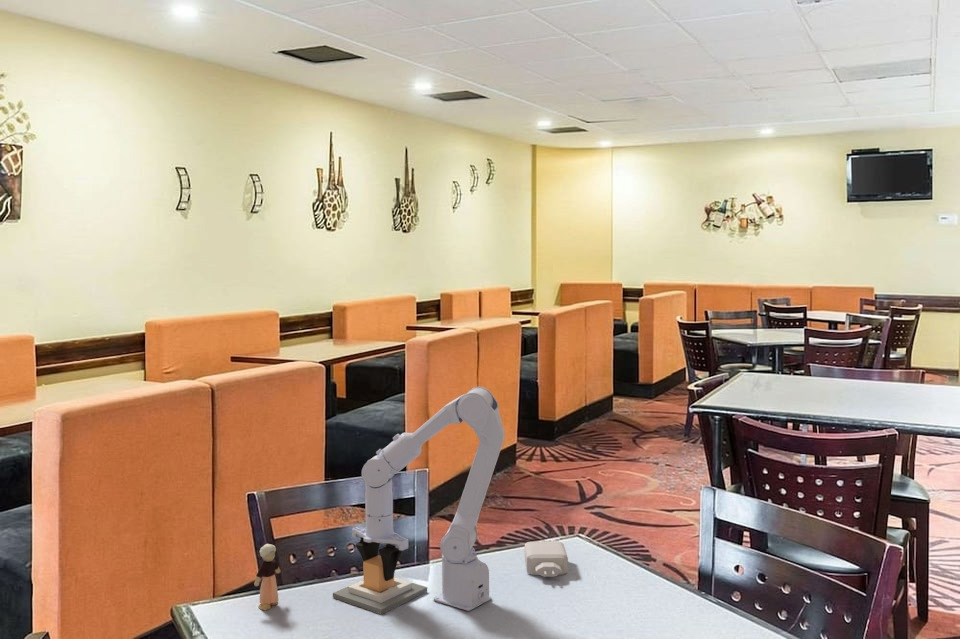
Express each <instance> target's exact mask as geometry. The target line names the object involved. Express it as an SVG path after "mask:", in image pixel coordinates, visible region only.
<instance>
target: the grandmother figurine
mask: <svg viewBox="0 0 960 639" xmlns="http://www.w3.org/2000/svg"><path fill="white" fill-rule="evenodd" d="M276 551H277V547H276V546H275V545H273V544H270V543H266V544H264V545H263V546H261V547H260V550H259V555H260V557H262V558H261V559H262V560H263V562H261V564H260V566H259V569H258V571H257V573H256V574H255V581H254V582H253V584H254V587H258V586H260V587H259V604H258V609H260V610H262V611H268V610H270V609H271V608H272V606H276V605H278V604H279V592H278V586H277V579H276V574H280V573H281V569H280V565H279V562H278V561H277V560H275V557H276ZM260 582H261V584H260Z"/></svg>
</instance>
